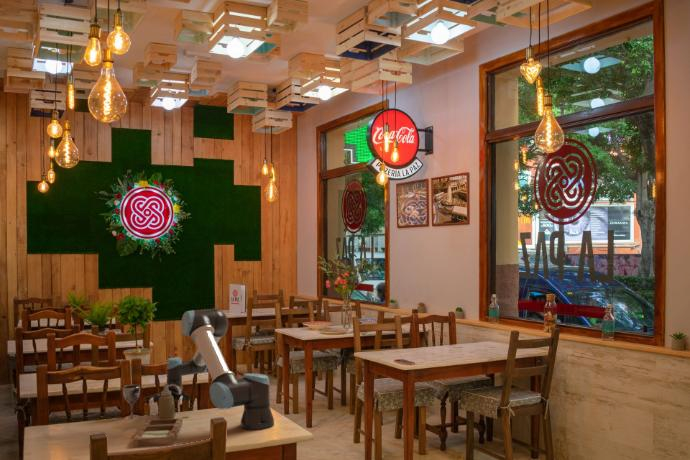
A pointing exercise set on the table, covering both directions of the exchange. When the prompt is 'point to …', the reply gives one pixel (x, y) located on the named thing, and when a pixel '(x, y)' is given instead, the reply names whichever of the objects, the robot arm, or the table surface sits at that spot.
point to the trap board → (158, 432)
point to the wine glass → (131, 397)
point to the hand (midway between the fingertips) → (165, 402)
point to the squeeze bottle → (166, 404)
